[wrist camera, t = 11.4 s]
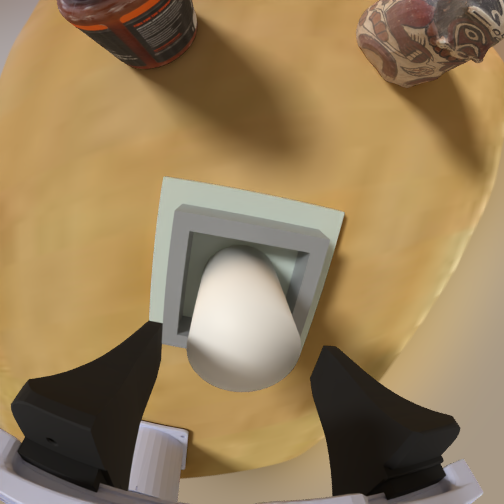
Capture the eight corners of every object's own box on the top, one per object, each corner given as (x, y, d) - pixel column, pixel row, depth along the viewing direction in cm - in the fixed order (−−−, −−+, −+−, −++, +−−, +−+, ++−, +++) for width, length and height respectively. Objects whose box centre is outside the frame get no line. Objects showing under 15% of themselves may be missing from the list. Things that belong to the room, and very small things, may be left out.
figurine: (354, 72, 16) (469, 9, 5) (353, -2, 14) (433, -84, 3) (433, 98, 17) (554, 84, 5) (428, 27, 15) (525, -15, 3)
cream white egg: (266, 316, 21) (284, 395, 13) (197, 306, 20) (182, 384, 12) (283, 251, 19) (315, 311, 12) (208, 238, 19) (192, 293, 11)
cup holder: (297, 354, 23) (304, 378, 20) (150, 332, 21) (140, 355, 18) (341, 211, 19) (359, 220, 16) (165, 176, 18) (152, 179, 15)
